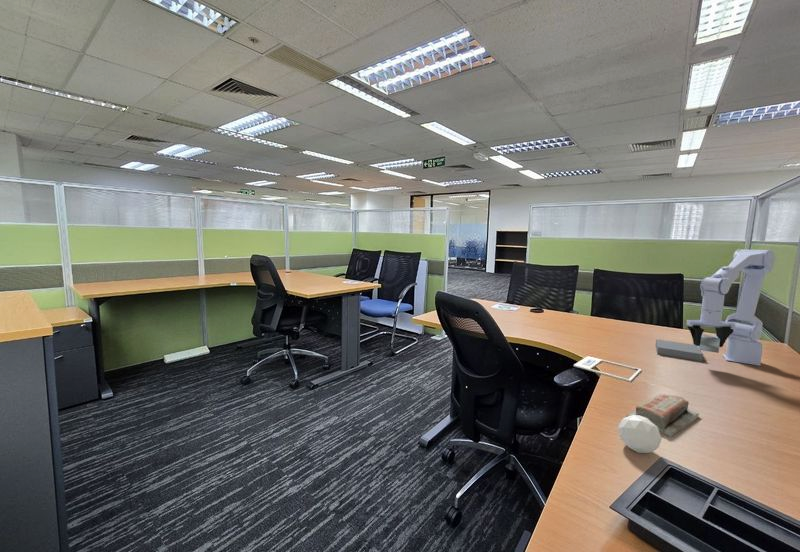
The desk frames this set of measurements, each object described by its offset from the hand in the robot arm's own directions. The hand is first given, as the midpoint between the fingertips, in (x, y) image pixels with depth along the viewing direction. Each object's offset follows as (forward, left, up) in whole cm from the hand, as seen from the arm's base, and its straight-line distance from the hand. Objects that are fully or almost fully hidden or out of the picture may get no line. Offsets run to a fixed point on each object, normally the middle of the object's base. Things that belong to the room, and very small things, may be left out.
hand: (707, 345), depth 123 cm
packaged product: (+15, +55, -9) cm, 58 cm away
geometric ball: (+21, +76, -8) cm, 79 cm away
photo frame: (+30, +24, -9) cm, 39 cm away
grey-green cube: (0, 0, -1) cm, 1 cm away
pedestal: (+7, -14, -8) cm, 18 cm away
